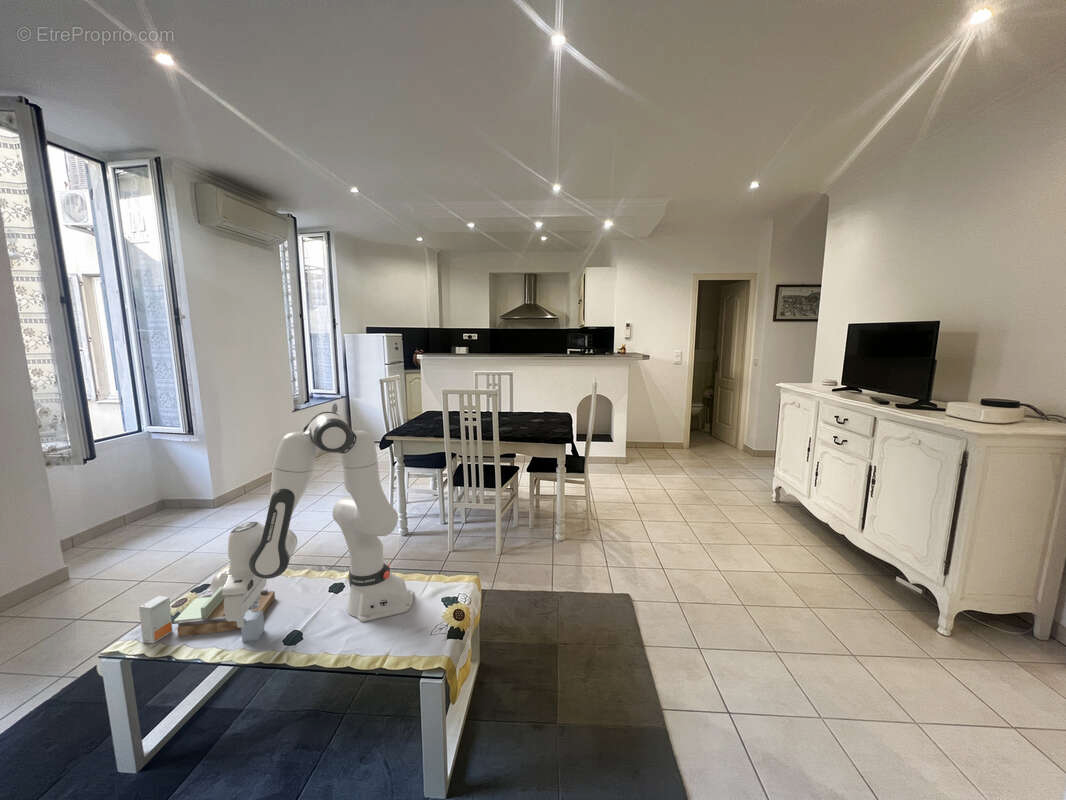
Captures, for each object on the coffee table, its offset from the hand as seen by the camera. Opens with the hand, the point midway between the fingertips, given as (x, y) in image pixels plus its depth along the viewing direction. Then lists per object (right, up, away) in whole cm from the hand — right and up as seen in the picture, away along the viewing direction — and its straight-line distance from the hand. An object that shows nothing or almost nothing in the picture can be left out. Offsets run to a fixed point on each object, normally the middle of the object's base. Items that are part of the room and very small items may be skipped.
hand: (248, 616), depth 131 cm
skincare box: (-29, -7, +1) cm, 30 cm away
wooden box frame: (-14, -6, +11) cm, 18 cm away
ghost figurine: (-23, -4, +23) cm, 33 cm away
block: (0, -7, +2) cm, 7 cm away
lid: (-22, -2, +9) cm, 24 cm away
